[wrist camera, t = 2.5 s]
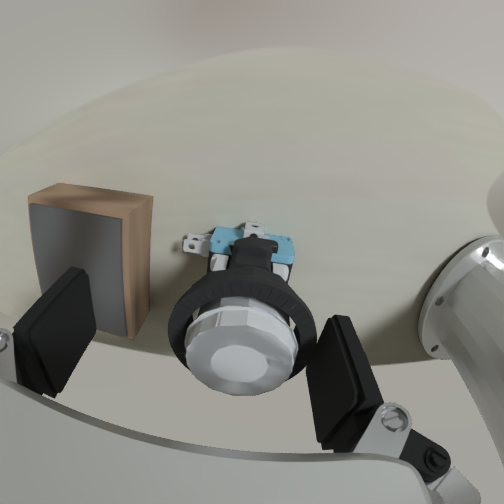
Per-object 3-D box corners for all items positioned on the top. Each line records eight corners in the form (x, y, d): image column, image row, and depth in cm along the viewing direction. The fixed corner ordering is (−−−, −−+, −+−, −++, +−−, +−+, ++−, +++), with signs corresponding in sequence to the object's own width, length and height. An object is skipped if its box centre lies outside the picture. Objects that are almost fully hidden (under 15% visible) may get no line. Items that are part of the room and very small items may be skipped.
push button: (187, 270, 19) (133, 386, 10) (193, 193, 17) (115, 275, 7) (285, 286, 19) (296, 413, 10) (302, 211, 17) (343, 312, 8)
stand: (153, 196, 17) (126, 214, 13) (149, 310, 20) (132, 343, 17) (58, 183, 16) (24, 197, 13) (67, 287, 20) (43, 312, 17)
